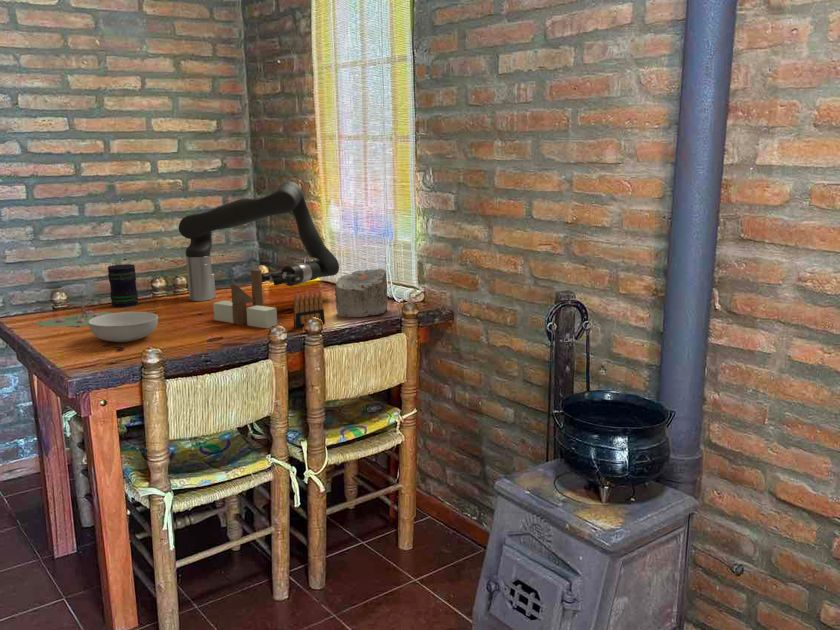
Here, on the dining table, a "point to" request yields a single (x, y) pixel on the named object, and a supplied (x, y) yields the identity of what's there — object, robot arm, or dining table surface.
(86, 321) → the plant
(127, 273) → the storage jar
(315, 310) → the ammunition clip
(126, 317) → the serving bowl
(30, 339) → the dining table surface
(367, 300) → the petrified wood
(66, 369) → the dining table surface
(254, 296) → the wooden angular bracket
